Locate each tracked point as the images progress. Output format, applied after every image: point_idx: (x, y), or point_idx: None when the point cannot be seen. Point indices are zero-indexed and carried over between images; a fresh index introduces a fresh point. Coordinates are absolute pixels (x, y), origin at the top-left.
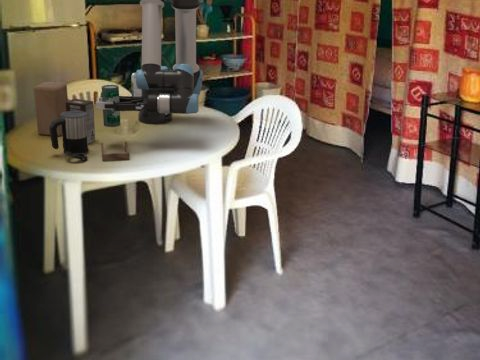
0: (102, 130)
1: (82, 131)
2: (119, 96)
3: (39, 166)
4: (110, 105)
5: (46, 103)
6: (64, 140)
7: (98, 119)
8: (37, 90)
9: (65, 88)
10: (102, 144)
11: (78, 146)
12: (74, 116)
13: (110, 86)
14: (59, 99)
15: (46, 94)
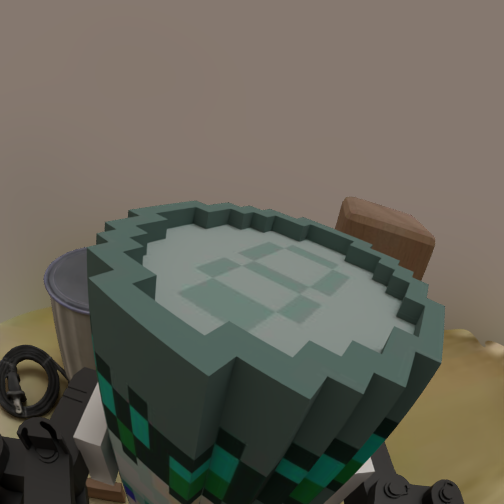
0: (399, 474)
1: (64, 358)
2: (440, 491)
3: (30, 314)
4: (54, 416)
5: None
6: None
7: (484, 426)
8: (341, 207)
9: (417, 250)
10: (96, 484)
11: None
12: (57, 268)
13: (367, 289)
14: None
15: (339, 226)
